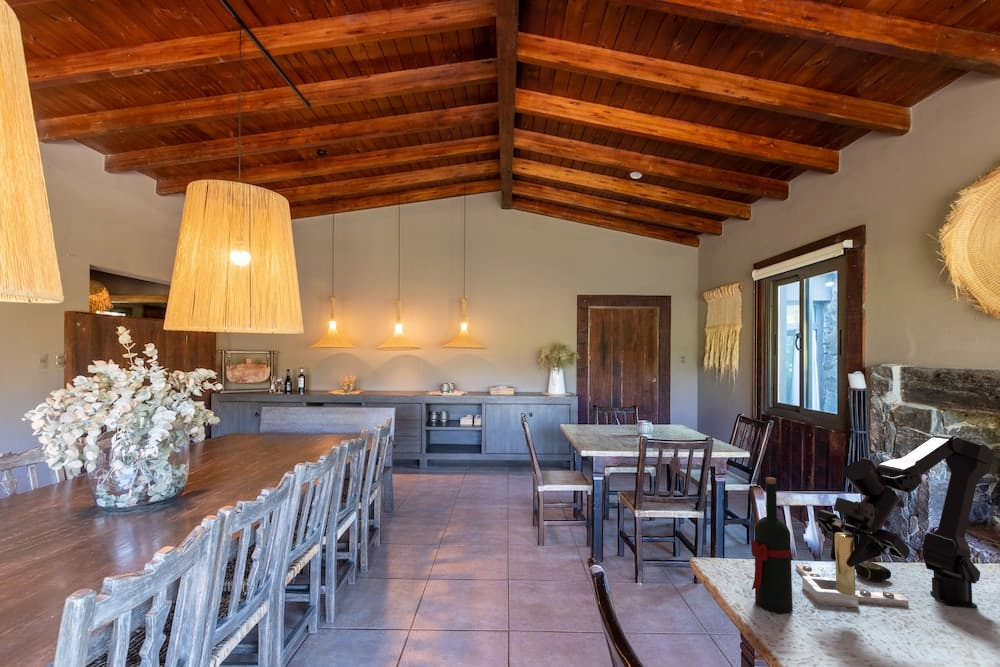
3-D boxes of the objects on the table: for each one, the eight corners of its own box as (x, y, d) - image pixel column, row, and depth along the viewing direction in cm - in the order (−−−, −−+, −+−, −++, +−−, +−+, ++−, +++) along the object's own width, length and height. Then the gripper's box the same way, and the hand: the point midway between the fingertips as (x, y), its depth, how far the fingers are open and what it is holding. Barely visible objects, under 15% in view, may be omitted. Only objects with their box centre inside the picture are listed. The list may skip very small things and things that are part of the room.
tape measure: (893, 582, 132) (892, 568, 132) (874, 585, 130) (874, 571, 130) (867, 571, 139) (866, 558, 139) (848, 575, 136) (848, 561, 137)
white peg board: (867, 574, 136) (867, 563, 136) (916, 612, 116) (915, 599, 116) (785, 568, 140) (784, 557, 140) (817, 604, 120) (817, 591, 120)
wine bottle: (740, 603, 120) (738, 476, 121) (770, 595, 124) (767, 473, 125) (769, 618, 113) (767, 484, 114) (800, 610, 117) (797, 480, 118)
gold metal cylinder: (850, 588, 114) (848, 533, 115) (858, 595, 111) (857, 538, 111) (833, 587, 115) (831, 531, 116) (840, 594, 111) (839, 537, 112)
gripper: (819, 476, 124) (785, 525, 120) (898, 496, 106) (860, 554, 103) (844, 506, 126) (811, 555, 122) (926, 530, 108) (890, 589, 104)
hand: (840, 562), depth 113 cm, fingers closed on gold metal cylinder, 4 cm apart
